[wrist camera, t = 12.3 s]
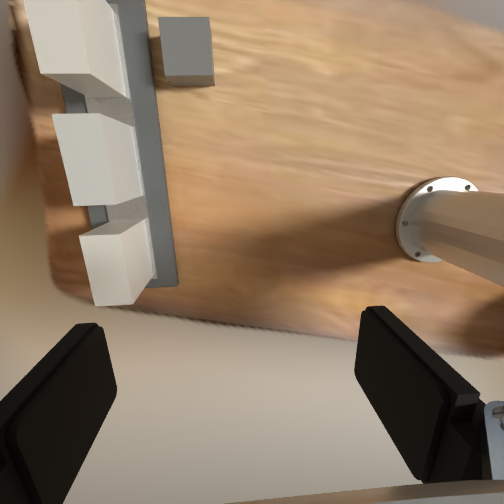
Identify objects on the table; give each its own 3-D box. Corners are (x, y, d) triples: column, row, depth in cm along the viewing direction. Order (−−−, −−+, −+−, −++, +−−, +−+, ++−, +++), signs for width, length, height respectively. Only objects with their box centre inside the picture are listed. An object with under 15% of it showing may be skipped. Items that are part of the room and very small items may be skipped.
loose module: (131, 126, 31) (99, 113, 23) (142, 195, 33) (116, 204, 26) (95, 127, 30) (49, 113, 23) (108, 196, 33) (71, 206, 25)
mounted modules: (112, 9, 27) (66, -51, 20) (153, 275, 37) (132, 304, 29) (72, 9, 27) (10, -53, 19) (123, 277, 36) (95, 306, 29)
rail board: (144, -5, 28) (140, -12, 27) (178, 282, 39) (177, 286, 38) (47, -7, 28) (39, -14, 26) (109, 286, 38) (105, 290, 37)
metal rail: (118, 6, 27) (116, 3, 27) (158, 277, 37) (157, 278, 37) (68, 5, 27) (66, 3, 27) (121, 279, 37) (120, 280, 36)
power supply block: (211, 35, 30) (208, 17, 26) (214, 86, 32) (212, 75, 28) (167, 35, 30) (158, 17, 26) (172, 86, 31) (164, 75, 27)
